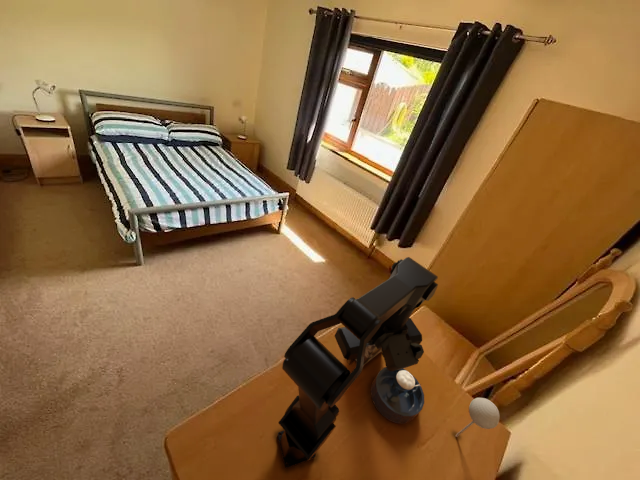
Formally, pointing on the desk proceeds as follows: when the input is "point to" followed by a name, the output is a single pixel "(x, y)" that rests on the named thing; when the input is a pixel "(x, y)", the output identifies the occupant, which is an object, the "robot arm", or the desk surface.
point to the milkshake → (401, 386)
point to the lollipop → (482, 414)
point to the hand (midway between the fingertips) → (366, 359)
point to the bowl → (404, 407)
